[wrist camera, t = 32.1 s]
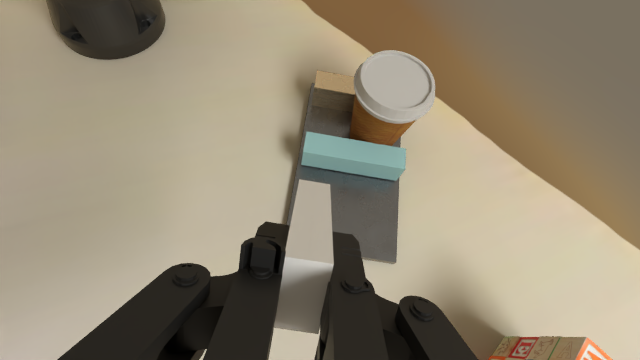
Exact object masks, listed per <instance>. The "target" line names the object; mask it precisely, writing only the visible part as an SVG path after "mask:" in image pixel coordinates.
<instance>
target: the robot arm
mask: <svg viewBox="0 0 640 360" xmlns="http://www.w3.org/2000/svg"><path fill="white" fill-rule="evenodd" d="M46 1H47V4H48V8H49V11H50V15H51V18H52V22H53V25H54V27H55V29H56V30H57V32H58V33H59V35H60V36H61V38H62V39H63V40H64V42H65V43H66V44H67V45H68V46H69V47H70V48H71V49H73V50H74V51H76V52H77V53H79V54H82V55H84V56H87V57H91V58H96V59H118V58H124V57H128V56H131V55H134V54H137V53H139V52H141V51H143V50H145V49H146V48H148V47H149V46H151V45H152V44H153V43H154V42H155V41H156V40H157V39H158V38H159V37H160V35H161V34H162V32H163V29H164V26H165V14H164V11H163V9H162V6H161V3H160V1H159V0H46ZM274 328H280V329H287V330H294V331H301V332H308V333H315V334H318V333H319V328H320V337H319V342H318V346H317V351H316V355H315V360H478V359H477V358H476V356H475V355H474V354H473V352H472V351H471V350H470V348H469V347H468V346H467V344H466V343H465V342H464V340H463V339H462V338H461V336H460V335H459V334H458V332H457V331H456V330H455V328H454V327H453V325H452V324H451V323H450V321H449V320H448V319H447V317H446V316H445V315H444V313H443V312H442V311H441V310H440V309H439V308H438V307H437V306H436V305H435V304H434V303H432V302H430V301H429V300H427V299H425V298H422V297H418V296H406V297H404V298H403V299H401V300H400V303H399V304H396V303H394V302H391V301H388V300H386V299H384V298H382V297H380V296H378V295H377V294H375V291H374V288H373V286H372V284H371V283H370V282H369V281H368V280H367V279H366V277H365V272H364V267H363V261H362V258H361V251H360V245H359V242H358V240H357V239H356V238H355V237H354V236H353V235H352V234H346V233H340V232H333V231H332V215H331V193H330V184H325V183H319V182H313V181H307V180H301V179H299V184H298V189H297V194H296V199H295V204H294V209H293V214H292V219H291V224H290V225H284V224H277V223H271V222H265V223H264V224H262V225H261V226H260V227H259V228H258V230H257V233H256V236H255V238H250V239H248V240H246V241H244V243H243V244H242V245H241V253H240V262H239V269H238V271H237V272H235V273H232V274H229V275H224V276H213V277H210V272H209V271H208V270H207V268H205V267H203V266H201V265H199V264H193V263H184V264H179V265H175V266H172V267H170V268H169V269H167V270H165V271H164V272H163V273H162V274H161V275H159V276H158V277H157V278H156V279H155V280H153V281H152V282H151V283H150V284H148V285H147V286H146V287H145V288H144V289H142V290H141V291H140V292H139V293H138V294H136V295H135V296H134V297H133V298H131V299H130V300H129V301H128V302H127V303H125V304H124V305H123V306H122V307H121V308H119V309H118V310H117V311H116V312H115V313H113V314H112V315H111V316H110V317H108V318H107V319H106V320H105V321H104V322H102V323H101V324H100V325H99V326H98V327H96V328H95V329H94V330H93V331H91V332H90V333H89V334H88V335H87V336H85V337H84V338H83V339H82V340H81V341H79V342H78V343H77V344H76V345H75V346H73V347H72V348H71V349H70V350H68V351H67V352H66V353H65V354H64V355H62V356H61V357H60V358H59V359H58V360H199V359H200V358H201V356H202V355H203V353H204V350H205V349H207V351H206V353H205V356H204V358H203V360H268V358H269V352H270V347H271V341H272V335H273V329H274Z"/></svg>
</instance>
